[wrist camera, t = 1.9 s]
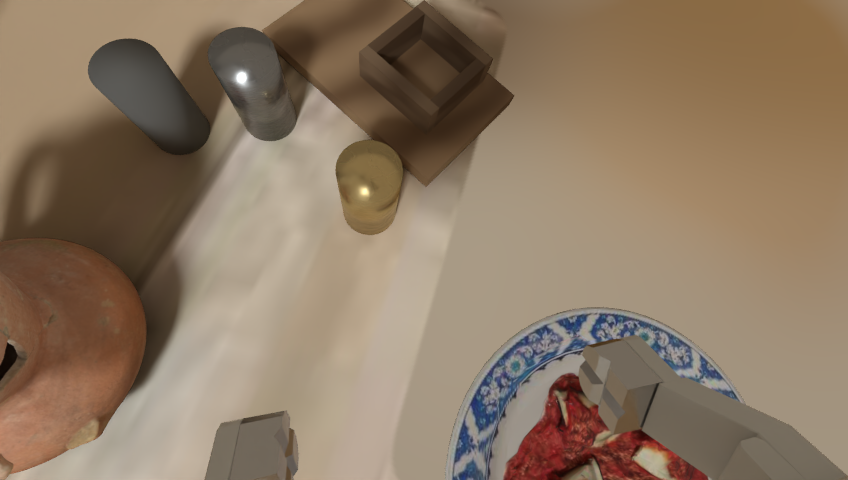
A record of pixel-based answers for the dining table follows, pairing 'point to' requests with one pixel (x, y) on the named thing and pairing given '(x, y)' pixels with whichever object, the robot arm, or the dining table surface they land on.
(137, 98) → the grey rounded cylinder
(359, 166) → the translucent yellow cylinder
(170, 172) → the dining table surface
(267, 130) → the dark steel roller
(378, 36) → the socket board
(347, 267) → the dining table surface
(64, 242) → the ceramic jug
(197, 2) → the dining table surface
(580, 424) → the ceramic plate
